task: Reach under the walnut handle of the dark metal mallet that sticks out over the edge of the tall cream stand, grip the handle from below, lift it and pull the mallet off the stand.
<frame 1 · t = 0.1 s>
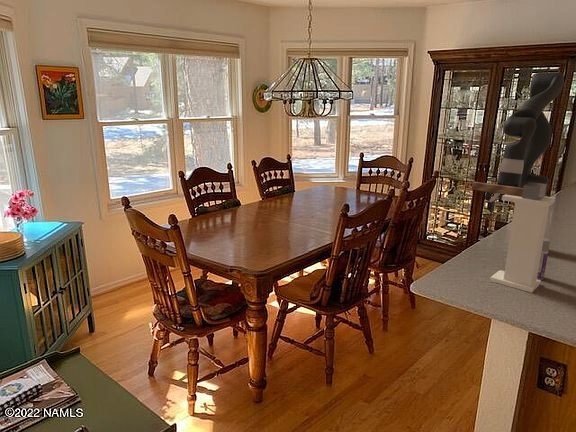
hand: (502, 214, 162), 22 cm above the kitchen counter, tool pointing down, fingers open, 8 cm apart
mallet: (505, 193, 152), point 32 cm above the kitchen counter, touching stand
container: (536, 277, 161), on the kitchen counter
stand: (514, 282, 156), on the kitchen counter
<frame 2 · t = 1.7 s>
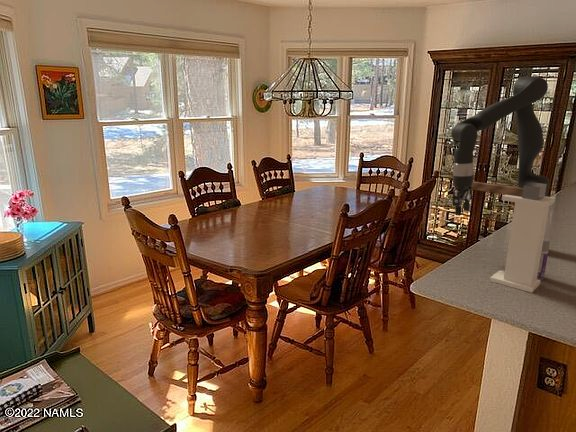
hand: (462, 212, 176), 19 cm above the kitchen counter, tool pointing down, fingers open, 8 cm apart
nothing on the kitchen counter moved.
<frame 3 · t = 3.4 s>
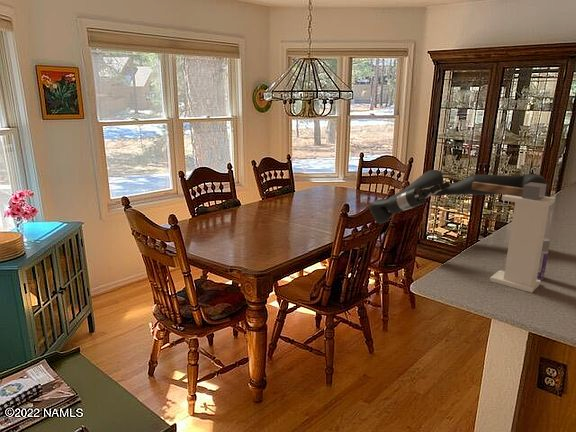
hand: (444, 185, 170), 31 cm above the kitchen counter, tool pointing upward, fingers open, 8 cm apart
nothing on the kitchen counter moved.
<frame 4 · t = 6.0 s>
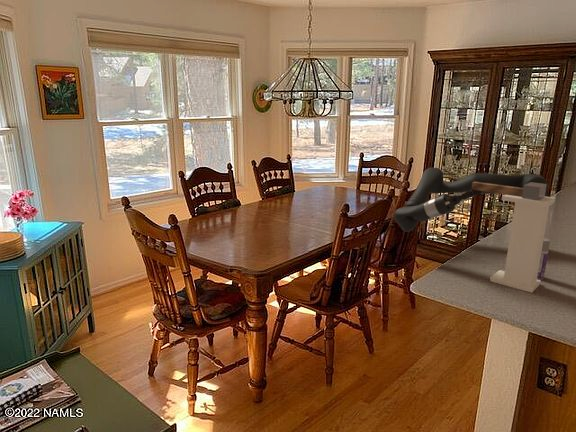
hand: (477, 191, 159), 31 cm above the kitchen counter, tool pointing upward, fingers open, 8 cm apart
nothing on the kitchen counter moved.
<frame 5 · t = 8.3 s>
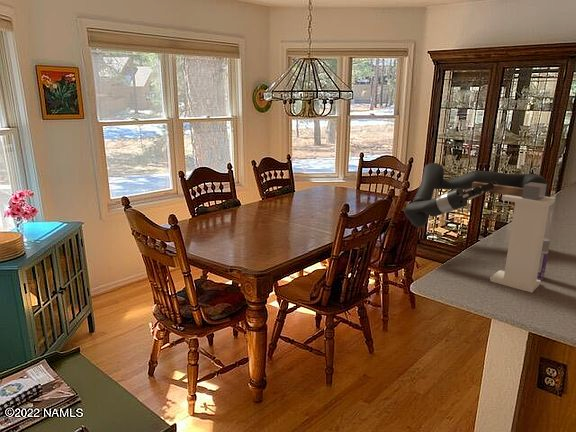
hand: (494, 184, 154), 35 cm above the kitchen counter, tool pointing upward, fingers closed on mallet, 2 cm apart
mallet: (505, 193, 152), point 32 cm above the kitchen counter, touching gripper, stand
everything else where it was.
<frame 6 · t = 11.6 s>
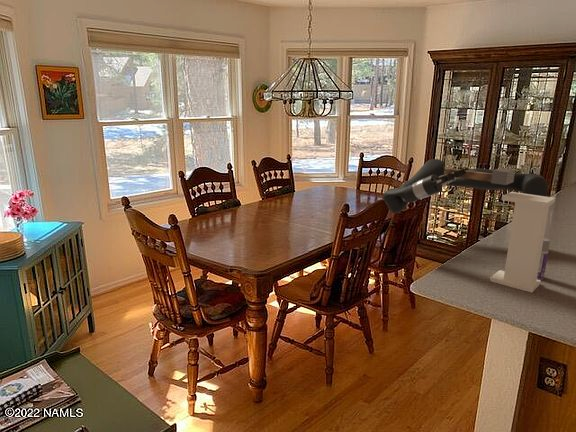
hand: (466, 170, 160), 39 cm above the kitchen counter, tool pointing upward, fingers closed on mallet, 2 cm apart
mallet: (476, 179, 158), point 36 cm above the kitchen counter, touching gripper
everything else where it was.
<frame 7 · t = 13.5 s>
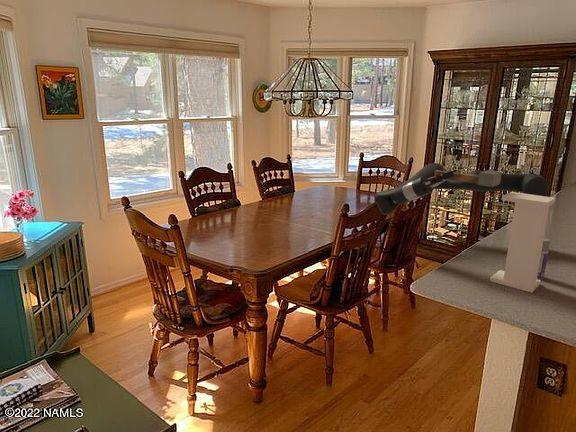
hand: (454, 172, 164), 37 cm above the kitchen counter, tool pointing upward, fingers closed on mallet, 2 cm apart
mallet: (464, 181, 162), point 35 cm above the kitchen counter, touching gripper
everything else where it was.
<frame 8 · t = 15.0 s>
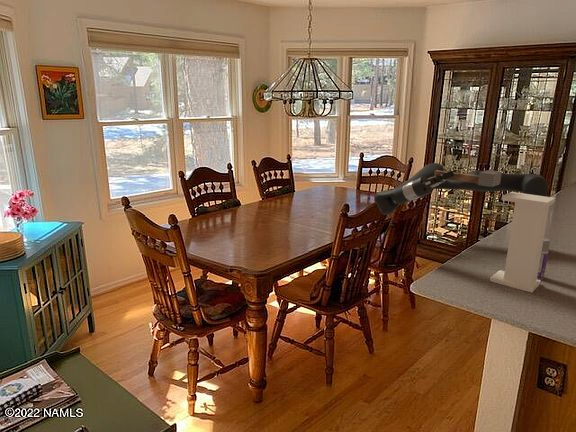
hand: (454, 172, 164), 37 cm above the kitchen counter, tool pointing upward, fingers closed on mallet, 2 cm apart
mallet: (464, 181, 162), point 35 cm above the kitchen counter, touching gripper
everything else where it was.
at the end: the gripper is holding mallet; mallet touching gripper; mallet moved 15.1 cm from its start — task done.
